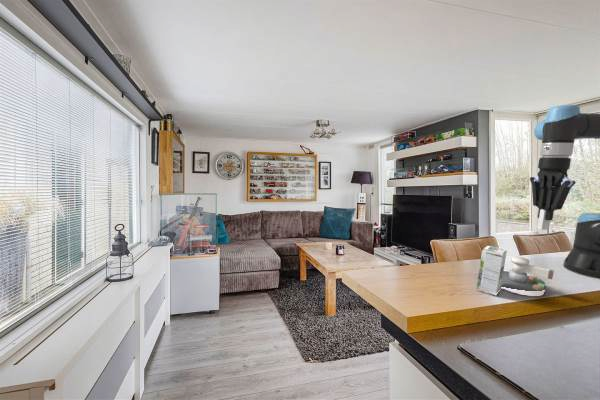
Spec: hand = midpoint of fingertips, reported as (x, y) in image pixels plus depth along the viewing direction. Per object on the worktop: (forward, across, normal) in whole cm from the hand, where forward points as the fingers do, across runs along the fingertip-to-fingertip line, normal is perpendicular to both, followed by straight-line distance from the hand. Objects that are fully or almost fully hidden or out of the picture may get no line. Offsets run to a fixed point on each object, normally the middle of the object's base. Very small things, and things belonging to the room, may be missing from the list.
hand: (543, 228), depth 93 cm
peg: (+15, +1, -4) cm, 16 cm away
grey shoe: (+20, -1, -6) cm, 21 cm away
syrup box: (+21, +2, -18) cm, 28 cm away
